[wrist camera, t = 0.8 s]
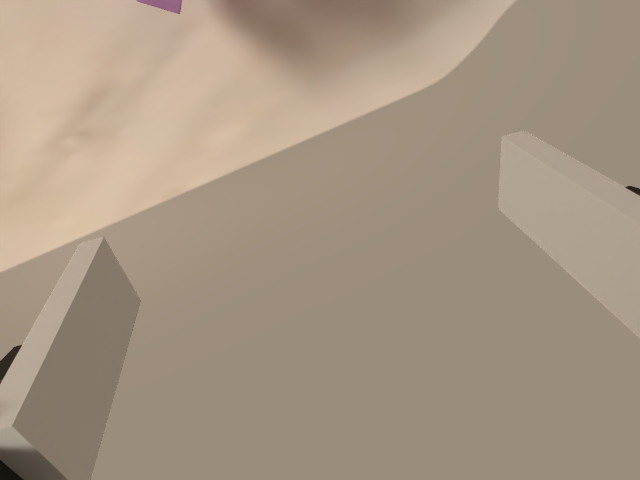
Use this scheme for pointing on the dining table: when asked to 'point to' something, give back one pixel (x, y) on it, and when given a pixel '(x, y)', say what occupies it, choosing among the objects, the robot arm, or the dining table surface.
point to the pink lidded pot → (165, 4)
